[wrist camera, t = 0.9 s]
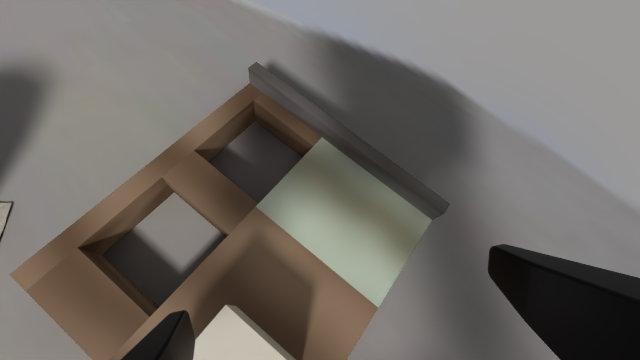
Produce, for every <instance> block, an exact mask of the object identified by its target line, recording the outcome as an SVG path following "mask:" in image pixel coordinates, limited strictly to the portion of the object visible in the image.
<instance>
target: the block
mask: <svg viewBox="0 0 640 360" xmlns="http://www.w3.org/2000/svg"><path fill="white" fill-rule="evenodd" d="M193 360H296V359H295V358H294V357H292V356H291V355H290V354H289V353H288V352H287V351H286V350H285V349H284V348H282V347H281V346H280V345H279V344H278V343H277V342H276V341H275V340H274V339H272V338H271V337H270V336H269V335H268V334H267V333H266V332H265V331H264V330H262V329H261V328H260V327H259V326H258V325H257V324H256V323H255V322H254V321H252V320H251V319H250V318H249V317H248V316H247V315H246V314H245V313H244V312H242V311H241V310H240V309H239V308H238V307H237V306H232V305H225V306H224V307H223V308H222V310H221V311H220V312H219V313H218V314H217V315H216V317H215V318H214V319H213V320H212V321H211V322H210V324H209V325H208V326H207V327H206V328H205V329H204V331H203V332H202V333H201V334H200V335H199V336H198V338H197V339H196V340H195V348H194V357H193Z"/></svg>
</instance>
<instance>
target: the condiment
mask: <svg viewBox="0 0 640 360" xmlns="http://www.w3.org/2000/svg"><path fill="white" fill-rule="evenodd" d="M11 204H12V203H0V235H1V233H2V231H3V229H4V226H5V223H6V218H7V215H8V212H9V209H10V206H11Z"/></svg>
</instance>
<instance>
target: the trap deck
mask: <svg viewBox="0 0 640 360" xmlns="http://www.w3.org/2000/svg"><path fill="white" fill-rule="evenodd" d="M248 69H249V79H250V83H249V84H248V85H247V86H246V87H244V88H243V89H242V90H241V91H239V92H238V93H237V94H236V95H234V96H233V97H232V98H231V99H229V100H228V101H227V102H226V103H224V104H223V105H222V106H220V107H219V108H218V109H217V110H215V111H214V112H213V113H212V114H210V115H209V116H208V117H207V118H205V119H204V120H203V121H202V122H200V123H199V124H198V125H197V126H195V127H194V128H193V129H192V130H190V131H189V132H188V133H187V134H185V135H184V136H183V137H182V138H180V139H179V140H178V141H177V142H175V143H174V144H173V145H172V146H170V147H169V148H168V149H166V150H165V151H164V152H163V153H161V154H160V155H159V156H158V157H156V158H155V159H154V160H153V161H151V162H150V163H149V164H148V165H146V166H145V167H144V168H143V169H141V170H140V171H139V172H138V173H136V174H135V175H134V176H133V177H131V178H130V179H129V180H128V181H126V182H125V183H124V184H123V185H121V186H120V187H119V188H118V189H116V190H115V191H114V192H112V193H111V194H110V195H109V196H107V197H106V198H105V199H104V200H102V201H101V202H100V203H99V204H97V205H96V206H95V207H94V208H92V209H91V210H90V211H89V212H87V213H86V214H85V215H84V216H82V217H81V218H80V219H79V220H77V221H76V222H75V223H74V224H72V225H71V226H70V227H69V228H67V229H66V230H65V231H63V232H62V233H61V234H60V235H58V236H57V237H56V238H55V239H53V240H52V241H51V242H50V243H48V244H47V245H46V246H45V247H43V248H42V249H41V250H40V251H38V252H37V253H36V254H35V255H33V256H32V257H31V258H30V259H28V260H27V261H26V262H25V263H23V264H22V265H21V266H20V267H18V268H17V269H16V270H15V271H13V272H12V273H11V274H10V275H11V277H12V278H13V279H14V280H15V281H16V282H17V283H18V284H19V285H20V286H21V287H22V288H23V289H24V290H25V291H26V292H27V293H28V294H29V295H30V296H31V297H32V298H33V299H34V300H35V301H36V302H37V303H38V304H39V305H40V306H41V307H42V308H43V309H44V310H45V311H46V312H47V313H48V315H49V316H50V317H51V318H52V319H53V320H54V321H55V322H56V323H57V324H58V325H59V326H60V327H61V328H62V329H63V330H64V331H65V332H66V333H67V334H68V335H69V336H70V337H71V338H72V339H73V340H74V341H75V342H76V343H77V344H78V345H79V346H80V347H81V348H82V349H83V350H84V351H85V353H86V354H87V355H88V356H89V357H90V358H91V359H92V360H120V359H122V358H123V357H124V356H125V355H126V354H127V353H128V352H129V351H130V350H131V349H132V348H133V347H134V346H135V345H136V344H137V343H139V342H140V341H141V340H142V339H143V338H144V337H145V336H146V335H147V334H148V333H149V332H150V331H151V330H152V329H153V328H154V327H155V326H157V325H158V324H159V323H160V322H161V321H162V320H163V319H164V318H165V317H166V316H167V315H168V314H170V313H172V312H176V311H181V310H186V311H187V312H188V313H189V316H190V320H191V323H192V327H193V330H194V334H195V340H196V339H197V338H198V336H199V335H200V334H201V333H202V332H203V331H204V329H205V328H206V327H207V326H208V325H209V324H210V322H211V321H212V320H213V319H214V318H215V317H216V315H217V314H218V313H219V312H220V311H221V310H222V308H223V307H224V306H225V305H232V306H237V307H238V308H239V309H240V310H241V311H242V312H244V313H245V314H246V315H247V316H248V317H249V318H250V319H251V320H252V321H254V322H255V323H256V324H257V325H258V326H259V327H260V328H261V329H262V330H264V331H265V332H266V333H267V334H268V335H269V336H270V337H271V338H272V339H274V340H275V341H276V342H277V343H278V344H279V345H280V346H281V347H282V348H284V349H285V350H286V351H287V352H288V353H289V354H290V355H291V356H292V357H294V358H295V359H296V360H347V358H348V356H349V355H350V353H351V351H352V350H353V348H354V347H355V345H356V343H357V342H358V340H359V338H360V337H361V335H362V334H363V332H364V330H365V329H366V327H367V325H368V324H369V322H370V320H371V319H372V317H373V316H374V314H375V312H376V311H377V309H378V307H379V306H380V304H381V303H382V301H383V299H384V298H385V296H386V294H387V293H388V291H389V290H390V288H391V286H392V285H393V283H394V281H395V280H396V278H397V277H398V275H399V273H400V272H401V270H402V268H403V267H404V265H405V264H406V262H407V260H408V259H409V257H410V255H411V254H412V252H413V251H414V249H415V247H416V246H417V244H418V242H419V241H420V239H421V238H422V236H423V234H424V233H425V231H426V229H427V228H428V226H429V225H430V223H431V221H432V220H433V219H435V218H437V217H439V216H440V215H442V214H444V213H445V211H446V210H447V208H448V206H449V205H450V204H449V203H448V202H447V201H445V200H444V199H442V198H441V197H440V196H438V195H437V194H436V193H434V192H433V191H432V190H430V189H429V188H428V187H426V186H425V185H423V184H422V183H421V182H419V181H418V180H417V179H415V178H414V177H413V176H411V175H410V174H408V173H407V172H406V171H404V170H403V169H402V168H400V167H399V166H398V165H396V164H395V163H393V162H392V161H391V160H389V159H388V158H387V157H385V156H384V155H383V154H381V153H380V152H379V151H377V150H376V149H374V148H373V147H372V146H370V145H369V144H368V143H366V142H365V141H364V140H362V139H361V138H359V137H358V136H357V135H355V134H354V133H353V132H351V131H350V130H349V129H347V128H346V127H344V126H343V125H342V124H340V123H339V122H338V121H336V120H335V119H334V118H332V117H331V116H330V115H328V114H327V113H325V112H324V111H323V110H321V109H320V108H319V107H317V106H316V105H315V104H313V103H312V102H310V101H309V100H308V99H306V98H305V97H304V96H302V95H301V94H300V93H298V92H297V91H295V90H294V89H293V88H291V87H290V86H289V85H287V84H286V83H285V82H283V81H282V80H281V79H279V78H278V77H276V76H275V75H274V74H272V73H271V72H270V71H268V70H267V69H266V68H264V67H263V66H261V65H260V64H259V63H257V62H256V63H254V64H253V65H252V66H250V67H249V68H248ZM254 121H257V122H258V123H259V124H260V125H262V126H263V127H264V128H266V129H267V130H268V131H269V132H271V133H272V134H273V135H275V136H276V137H277V138H279V139H280V140H281V141H282V142H284V143H285V144H286V145H288V146H289V147H290V148H292V149H293V150H294V151H295V152H297V153H298V154H299V155H301V156H302V157H303V158H302V159H301V160H300V161H299V162H298V163H297V164H296V165H295V166H294V167H293V168H292V169H291V170H290V171H289V172H288V173H287V174H286V175H285V176H284V178H283V179H282V180H281V181H280V182H279V183H278V184H277V185H276V186H275V187H274V188H273V189H272V190H271V191H270V192H269V193H268V194H267V195H266V196H265V197H264V198H263V199H262V200H261V202H260V203H259V204H258V203H257V202H256V201H255V200H254V199H252V198H251V197H250V196H249V195H248V194H246V193H245V192H244V191H243V190H241V189H240V188H239V187H238V186H237V185H235V184H234V183H233V182H232V181H231V180H229V179H228V178H227V177H226V176H224V175H223V174H222V173H221V172H220V171H218V170H217V169H216V168H215V167H213V166H212V165H211V164H210V163H209V161H210V160H211V159H212V158H213V157H215V156H216V155H217V154H218V153H219V152H220V151H221V150H223V149H224V148H225V147H226V146H227V145H228V144H229V143H231V142H232V141H233V140H234V139H235V138H236V137H237V136H238V135H240V134H241V133H242V132H243V131H244V130H245V129H246V128H248V127H249V126H250V125H251V124H252V123H253V122H254ZM174 192H175V193H176V194H177V195H178V196H179V197H181V198H182V199H183V200H184V201H185V202H186V203H188V204H189V205H190V206H191V207H192V208H193V209H195V210H196V211H197V212H198V213H199V214H200V215H202V216H203V217H204V218H205V219H206V220H207V221H209V222H210V223H211V224H212V225H213V226H214V227H215V228H217V229H218V230H219V231H220V232H221V233H222V234H224V235H225V236H226V238H225V239H224V240H223V241H222V242H221V243H220V244H219V245H218V246H217V247H216V249H215V250H214V251H213V252H212V253H211V254H210V255H209V256H208V257H207V258H206V259H205V260H204V261H203V262H202V263H201V264H200V265H199V266H198V267H197V268H196V269H195V270H194V272H193V273H192V274H191V275H190V276H189V277H188V278H187V279H186V280H185V281H184V282H183V283H182V284H181V285H180V286H179V287H178V288H177V289H176V290H175V291H174V292H173V293H172V294H171V296H170V297H169V298H168V299H167V300H166V301H165V302H164V303H163V304H162V305H161V306H160V307H159V308H156V307H155V306H154V305H153V304H152V303H151V302H150V301H149V300H148V299H147V298H146V297H145V296H144V295H143V294H142V293H141V292H140V291H139V290H137V289H136V288H135V287H134V286H133V285H132V284H131V283H130V282H129V281H128V280H127V279H126V278H125V277H124V276H123V275H122V274H121V273H120V272H118V271H117V270H116V269H115V268H114V267H113V266H112V265H111V264H110V263H109V262H108V261H107V260H106V259H105V258H104V257H103V256H102V255H103V254H104V253H105V252H106V251H107V250H109V249H110V248H111V247H112V246H113V245H114V244H115V243H117V242H118V241H119V240H120V239H121V238H122V237H123V236H125V235H126V234H127V233H128V232H129V231H130V230H131V229H132V228H134V227H135V226H136V225H137V224H138V223H139V222H140V221H142V220H143V219H144V218H145V217H146V216H147V215H148V214H150V213H151V212H152V211H153V210H154V209H155V208H156V207H158V206H159V205H160V204H161V203H162V202H163V201H164V200H166V199H167V198H168V197H169V196H170V195H171V194H172V193H174Z"/></svg>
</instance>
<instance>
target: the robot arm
mask: <svg viewBox="0 0 640 360" xmlns="http://www.w3.org/2000/svg"><path fill="white" fill-rule="evenodd" d="M488 273H489V275H490V277H491V279H492V280H493V281H494V283H495V284H496V285H497V286H498V288H499V289H500V290H501V292H502V293H503V294H504V295H505V297H506V298H507V299H508V300H509V302H510V303H511V304H512V306H513V307H514V308H515V309H516V311H517V312H518V313H519V314H520V316H521V317H522V318H523V319H524V321H525V322H526V323H527V324H528V325H529V326H530V327H531V328H532V330H533V331H534V332H535V333H536V334H537V335H538V336H539V337H540V338H541V339H542V340H543V341H544V342H545V344H546V345H547V346H548V347H549V348H550V349H551V350H552V351H553V352H554V353H555V354H556V355H557V356H558V358H559V359H560V360H640V278H637V277H633V276H629V275H626V274H622V273H618V272H614V271H610V270H606V269H602V268H598V267H594V266H590V265H586V264H582V263H578V262H574V261H570V260H566V259H562V258H558V257H554V256H550V255H546V254H542V253H538V252H534V251H530V250H526V249H522V248H518V247H514V246H510V245H506V244H501V245H497V246H493V247H491V248H490V250H489V261H488ZM194 348H195V334H194V330H193V327H192V323H191V320H190V316H189V313H188V312H187V311H186V310H181V311H176V312H172V313H170V314H168V315H167V316H166V317H165V318H164V319H163V320H162V321H161V322H160V323H159V324H158V325H157V326H155V327H154V328H153V329H152V330H151V331H150V332H149V333H148V334H147V335H146V336H145V337H144V338H143V339H142V340H141V341H140V342H139V343H137V344H136V345H135V346H134V347H133V348H132V349H131V350H130V351H129V352H128V353H127V354H126V355H125V356H124V357H123V358H122V359H120V360H193V357H194Z"/></svg>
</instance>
